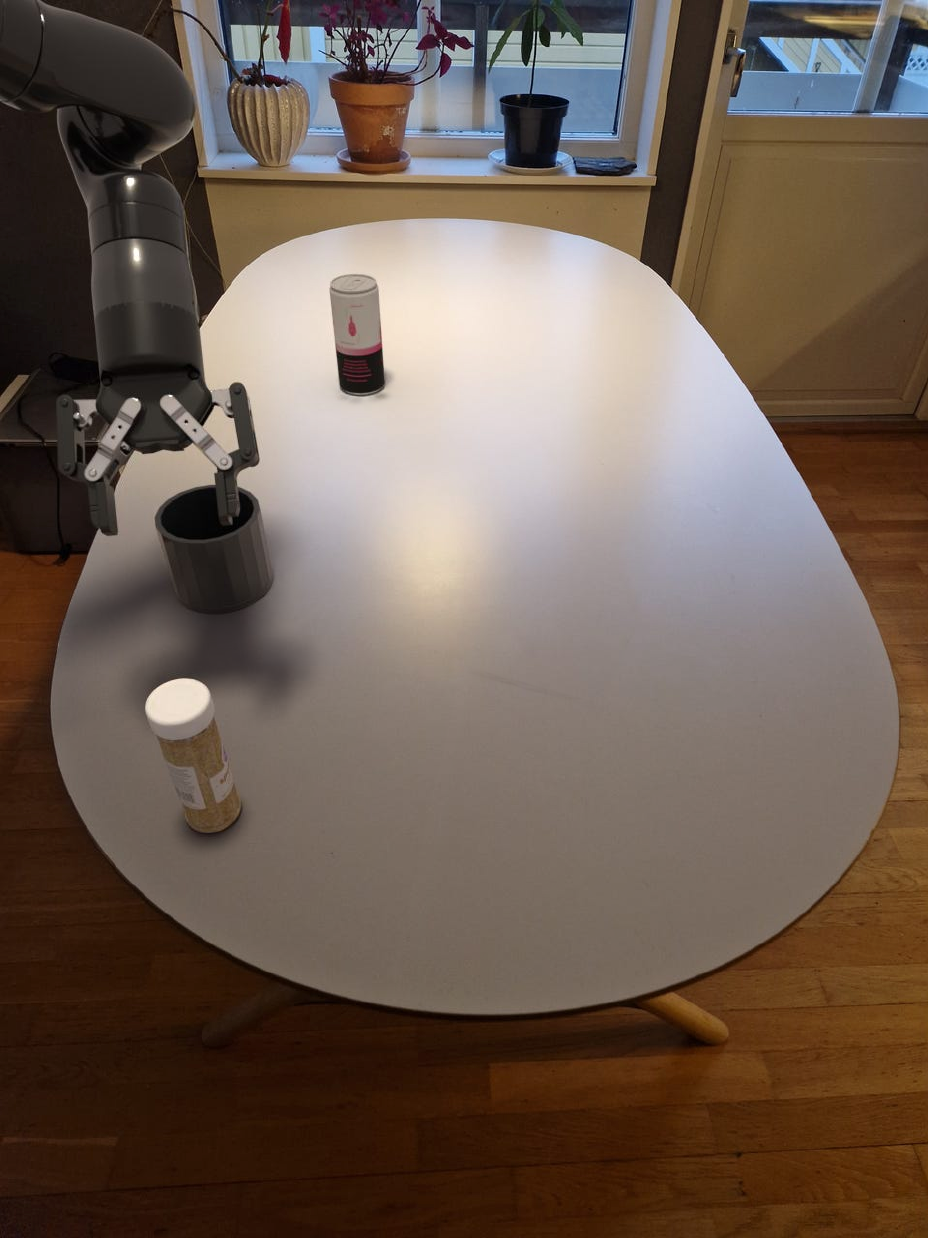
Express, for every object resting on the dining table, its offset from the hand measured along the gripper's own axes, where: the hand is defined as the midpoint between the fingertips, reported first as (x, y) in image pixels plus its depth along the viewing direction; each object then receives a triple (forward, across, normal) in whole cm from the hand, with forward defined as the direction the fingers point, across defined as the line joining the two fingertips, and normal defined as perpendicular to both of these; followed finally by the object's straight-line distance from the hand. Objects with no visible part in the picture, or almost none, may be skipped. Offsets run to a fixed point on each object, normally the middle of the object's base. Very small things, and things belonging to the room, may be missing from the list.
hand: (168, 528), depth 65 cm
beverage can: (-29, +18, +58) cm, 67 cm away
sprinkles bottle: (+22, 0, +6) cm, 23 cm away
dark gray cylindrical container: (+1, 0, +27) cm, 27 cm away
